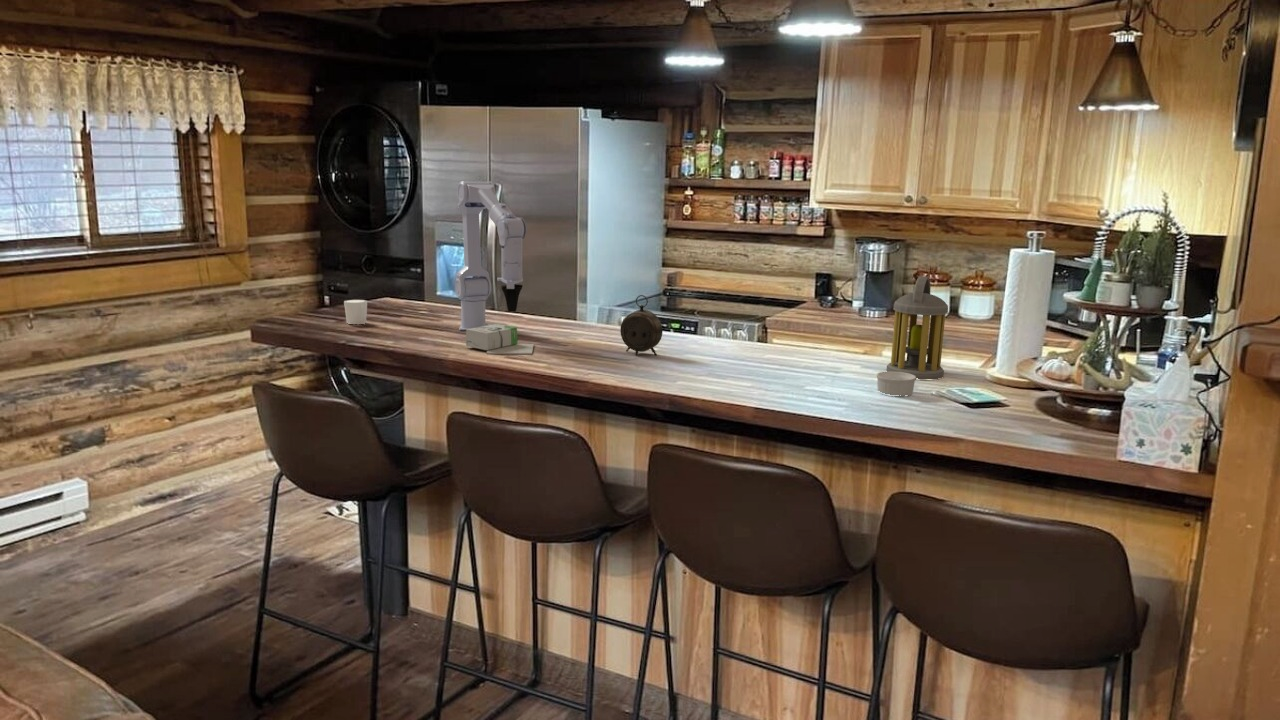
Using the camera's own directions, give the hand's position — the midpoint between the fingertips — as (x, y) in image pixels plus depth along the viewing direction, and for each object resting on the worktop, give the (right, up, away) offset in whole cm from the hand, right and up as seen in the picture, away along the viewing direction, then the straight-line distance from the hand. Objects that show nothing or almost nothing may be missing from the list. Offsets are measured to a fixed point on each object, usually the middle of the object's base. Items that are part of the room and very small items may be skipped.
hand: (512, 311), depth 264 cm
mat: (0, -11, -5) cm, 12 cm away
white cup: (-51, -3, +27) cm, 58 cm away
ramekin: (+95, -22, -41) cm, 106 cm away
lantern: (+106, -17, -21) cm, 109 cm away
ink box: (-2, -6, +2) cm, 7 cm away
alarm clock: (+35, -12, -7) cm, 38 cm away
